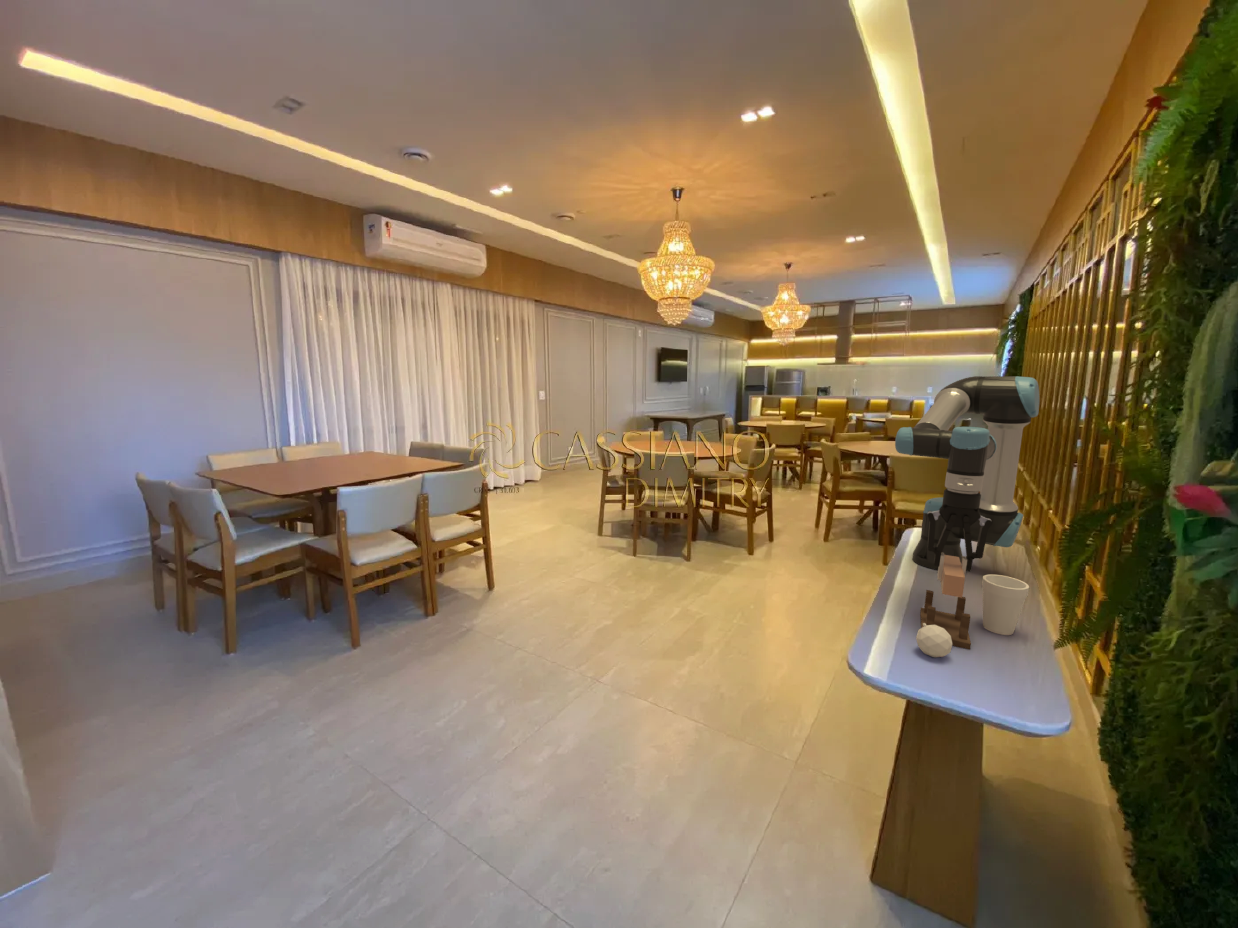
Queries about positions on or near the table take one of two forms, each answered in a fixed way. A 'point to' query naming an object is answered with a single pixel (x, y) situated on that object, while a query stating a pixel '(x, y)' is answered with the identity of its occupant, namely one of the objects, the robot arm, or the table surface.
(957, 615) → the rack
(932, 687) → the table surface
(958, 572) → the clay bar
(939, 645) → the cream rounded egg shape
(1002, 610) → the foam cup
